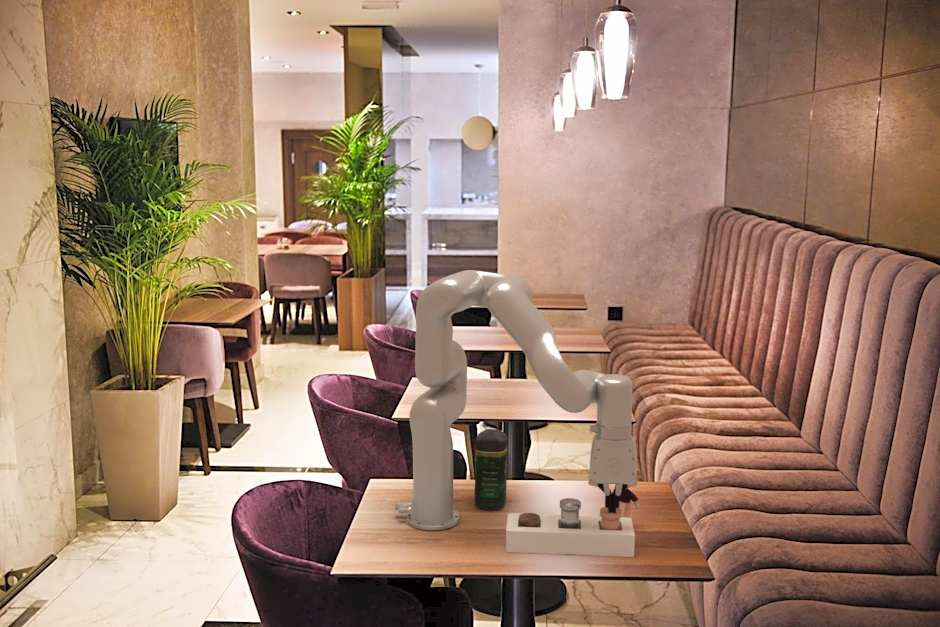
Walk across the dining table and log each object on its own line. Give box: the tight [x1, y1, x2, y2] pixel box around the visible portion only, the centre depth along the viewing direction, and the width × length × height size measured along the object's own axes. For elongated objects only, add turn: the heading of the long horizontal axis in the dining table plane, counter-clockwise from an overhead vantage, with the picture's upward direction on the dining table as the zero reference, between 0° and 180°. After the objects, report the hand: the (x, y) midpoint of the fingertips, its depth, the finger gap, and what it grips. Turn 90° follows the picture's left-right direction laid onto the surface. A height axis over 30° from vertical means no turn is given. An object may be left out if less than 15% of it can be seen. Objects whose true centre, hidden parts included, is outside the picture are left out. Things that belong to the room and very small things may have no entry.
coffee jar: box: [474, 428, 508, 511], centre depth 239 cm, size 10×8×19 cm
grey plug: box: [559, 497, 582, 529], centre depth 215 cm, size 5×5×6 cm
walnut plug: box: [519, 512, 540, 527], centre depth 216 cm, size 5×5×6 cm
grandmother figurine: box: [619, 488, 641, 518], centre depth 226 cm, size 8×4×13 cm, turn 62°
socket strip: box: [505, 512, 636, 558], centre depth 216 cm, size 28×10×5 cm, turn 85°
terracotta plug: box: [599, 506, 621, 530], centre depth 214 cm, size 5×5×6 cm
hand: (611, 510), depth 214 cm, fingers closed
